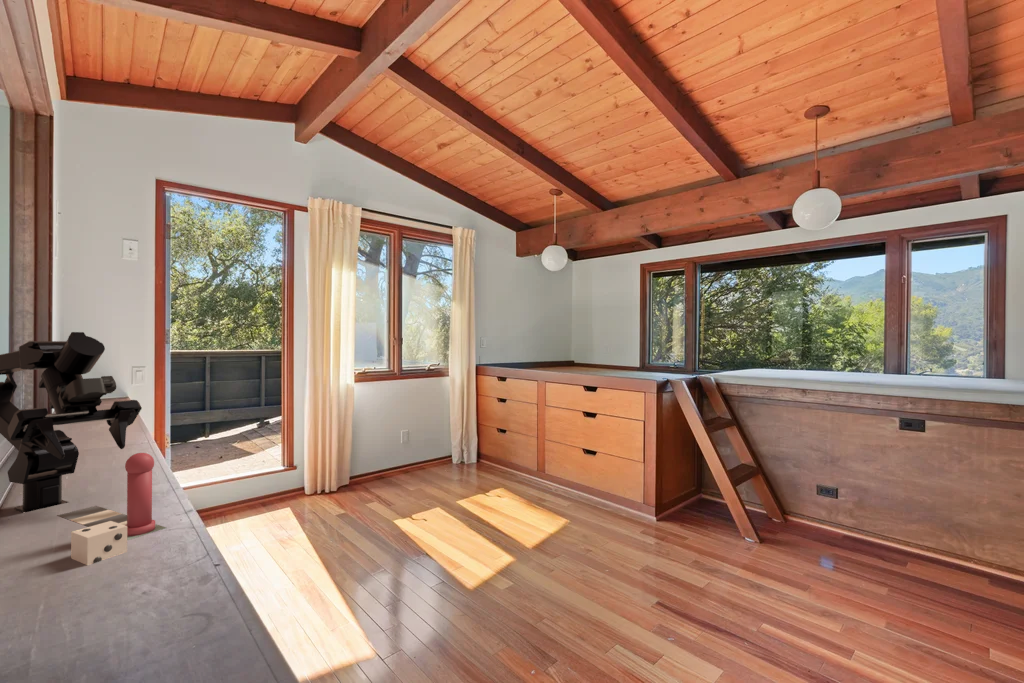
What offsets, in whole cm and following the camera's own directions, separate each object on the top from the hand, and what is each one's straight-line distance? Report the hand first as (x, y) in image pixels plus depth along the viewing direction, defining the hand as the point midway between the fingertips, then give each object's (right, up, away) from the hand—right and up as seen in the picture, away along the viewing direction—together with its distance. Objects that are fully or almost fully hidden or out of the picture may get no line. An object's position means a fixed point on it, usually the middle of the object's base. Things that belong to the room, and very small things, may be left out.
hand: (94, 452), depth 89 cm
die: (+15, -13, -16) cm, 26 cm away
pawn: (+14, -12, -7) cm, 20 cm away
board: (+5, -13, -2) cm, 14 cm away
